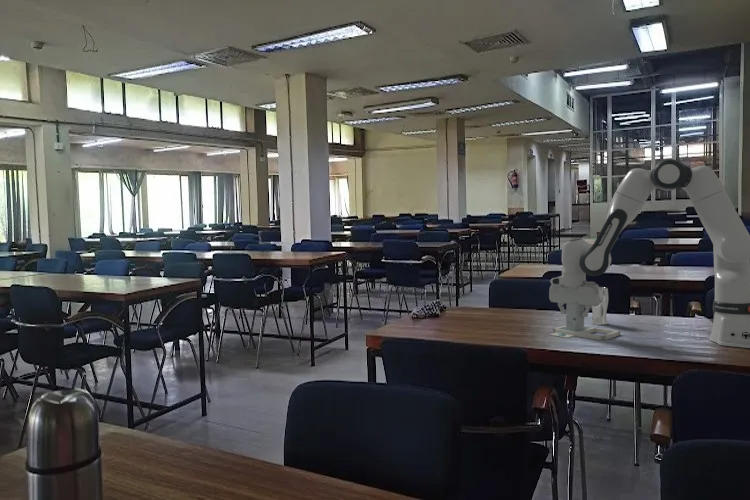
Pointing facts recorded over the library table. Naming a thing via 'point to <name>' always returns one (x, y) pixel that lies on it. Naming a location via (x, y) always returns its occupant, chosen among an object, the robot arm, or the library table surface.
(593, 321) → the beer glass
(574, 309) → the skincare box
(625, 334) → the library table surface
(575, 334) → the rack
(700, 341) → the library table surface
